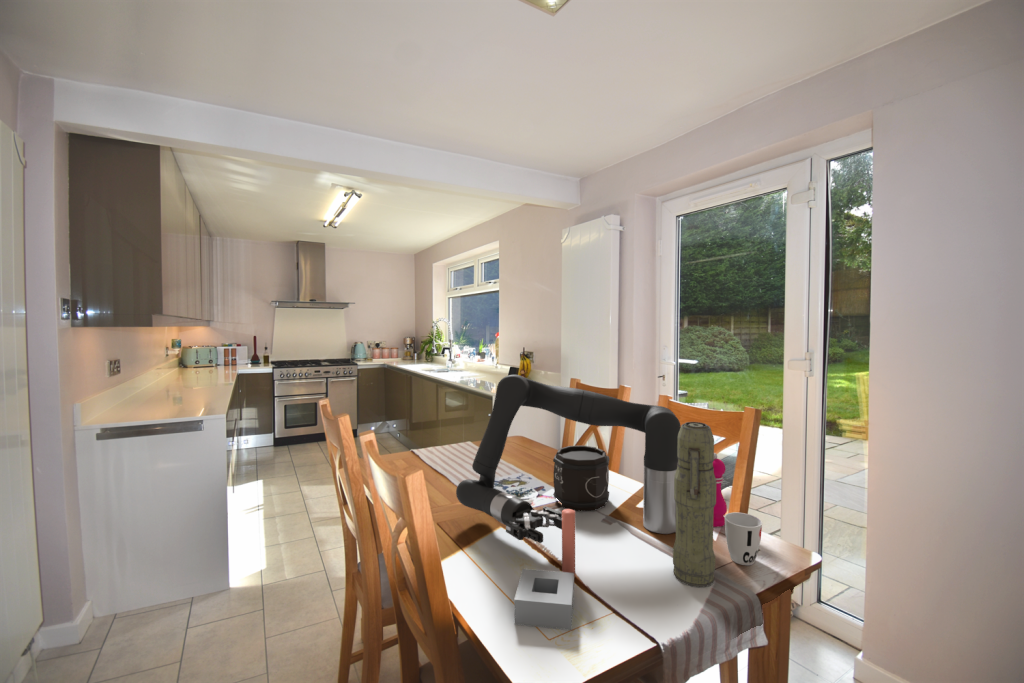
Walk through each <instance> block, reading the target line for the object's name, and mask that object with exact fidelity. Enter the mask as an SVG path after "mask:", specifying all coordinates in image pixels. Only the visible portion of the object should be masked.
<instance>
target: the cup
mask: <svg viewBox="0 0 1024 683" xmlns="http://www.w3.org/2000/svg"><path fill="white" fill-rule="evenodd" d="M724 517H725V524H724V530H725V533H724V534H725V540H726V546H727V550H728V553H729V556H730V559H731V560H732V561H733V563H735V564H738V565H742V566H752V565H754V563H755V561H756V559H757V557H758V554H759V549H760V544H761V541H762V540H761V539H762V531H763V530H762V528H763V521H762V520H761V519H760V518H759V517H757V516H754V515H752V514H750V513H747V512H746V513H744V512H737V511H736V512H728V513H726V514H725V515H724Z"/></svg>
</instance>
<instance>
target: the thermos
mask: <svg viewBox="0 0 1024 683" xmlns="http://www.w3.org/2000/svg"><path fill="white" fill-rule="evenodd" d="M680 425H681V428H680V431H679V433H678V450H677V457H678V463H677V470H676V472H675V475H674V500H675V502H676V532H675V540H674V544H673V547H672V565H673V572H672V573H673V576H674V578H675V579H676V580H677V581H678V582H679V583H682V584H683V585H687V586H690V587H695V588H706V587H710V586H711V585H713V584H714V581H715V571H716V554H715V552H714V527H713V512H714V506H715V504H716V478H715V475H714V467H713V461H714V453H715V438H714V434H713V431H712V428H711V426H709V425H708V424H706V423H704V422H699V421H687V422H685V423H682V424H680Z"/></svg>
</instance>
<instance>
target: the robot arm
mask: <svg viewBox="0 0 1024 683" xmlns="http://www.w3.org/2000/svg"><path fill="white" fill-rule="evenodd" d="M493 401H494V403H493V406H492V407H493V408H492V411H491V414H490V417H489V421H488V424H487V427H486V429H485V431H484V433H483V436H482V439H481V441H480V443H479V446H478V449H477V452H476V454H475V457H474V459H473V462H472V470H473V472H475V473H476V474H478V475H479V479H478V480H477V479H471V478H470V479H464V480H462V481H461V482H459V483H458V485H457V486H456V491H455V495H456V498H457V501H458V502H459V503H460V504H461V505H462V506H465V507H467V508H470V509H472V510H477V511H480V512H483V513H485V514H486V515H488V516H490V517H492V518H494V519H495V520H496V521H498V522H499V523H501V524H503V525H505V533H507V534H509V535H510V536H512V537H513V538H515V539H517V540H518V541H522V540H523V539H524V538H525V539H527V540H528V539H531V540H532V541H534V542H537V543H539V544H542V543H544V534H543V532H541V531H540V530H538V529H539V528H549V527H556V528H558V529H559V530H561V531H562V511H559V510H557V509H554V508H552V507H549V506H546V505H545V506H543V507H542V510H537V509H534V508H533V506H532V504H531V503H530V502H528V501H527V500H524V499H521V498H520V497H517V496H516V495H513V494H510V493H507V492H504V491H502V490H500V489H497V488H495V482H496V473H497V472H496V471H497V469H498V466H499V464H500V461H501V460H502V456H503V453H504V449H505V446H506V442H507V439H508V435H509V431H510V429H511V425H512V423H513V420H514V419H515V416H517V413H518V412H519V410H520V408H521V407H530V408H534V409H541V410H545V411H548V412H550V413H551V414H554V415H557V416H559V417H561V418H565V419H567V420H570V421H573V422H577V423H581V424H584V425H585V424H586V425H589V426H590V425H591V426H595V427H597V426H598V427H623V428H627V429H631V430H636V431H639V432H641V433H644V435H645V437H644V440H645V441H644V455H643V494H642V495H643V502H642V504H643V506H642V507H643V508H642V510H643V511H642V513H643V516H642V522H643V524H642V525H643V527H644V528H645V529H646V530H647V531H650V532H652V533H657V534H663V535H668V534H674V533H676V502H675V500H674V475H675V472H676V470H677V463H678V457H677V450H678V433H679V431H680V428H681V425H682V424H681V423H680V420H679V418H678V417H677V416H676V414H675V413H674V412H673V411H672V410H671V409H669V408H667V407H665V406H662V405H651V404H644V403H636V402H630V401H626V400H622V399H619V398H617V397H613V396H610V395H606V394H602V393H598V392H594V391H590V390H586V389H581V388H574V387H568V386H560V385H559V386H558V385H551V384H546V383H542V382H540V381H536V380H533V379H530V378H527V377H524V376H522V375H519V374H509V375H506V376H504V377H502V378H501V379H500V380H499V382H498V383H497V386H496V391H495V397H494V400H493ZM544 518H545V522H544ZM537 528H538V529H537Z"/></svg>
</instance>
